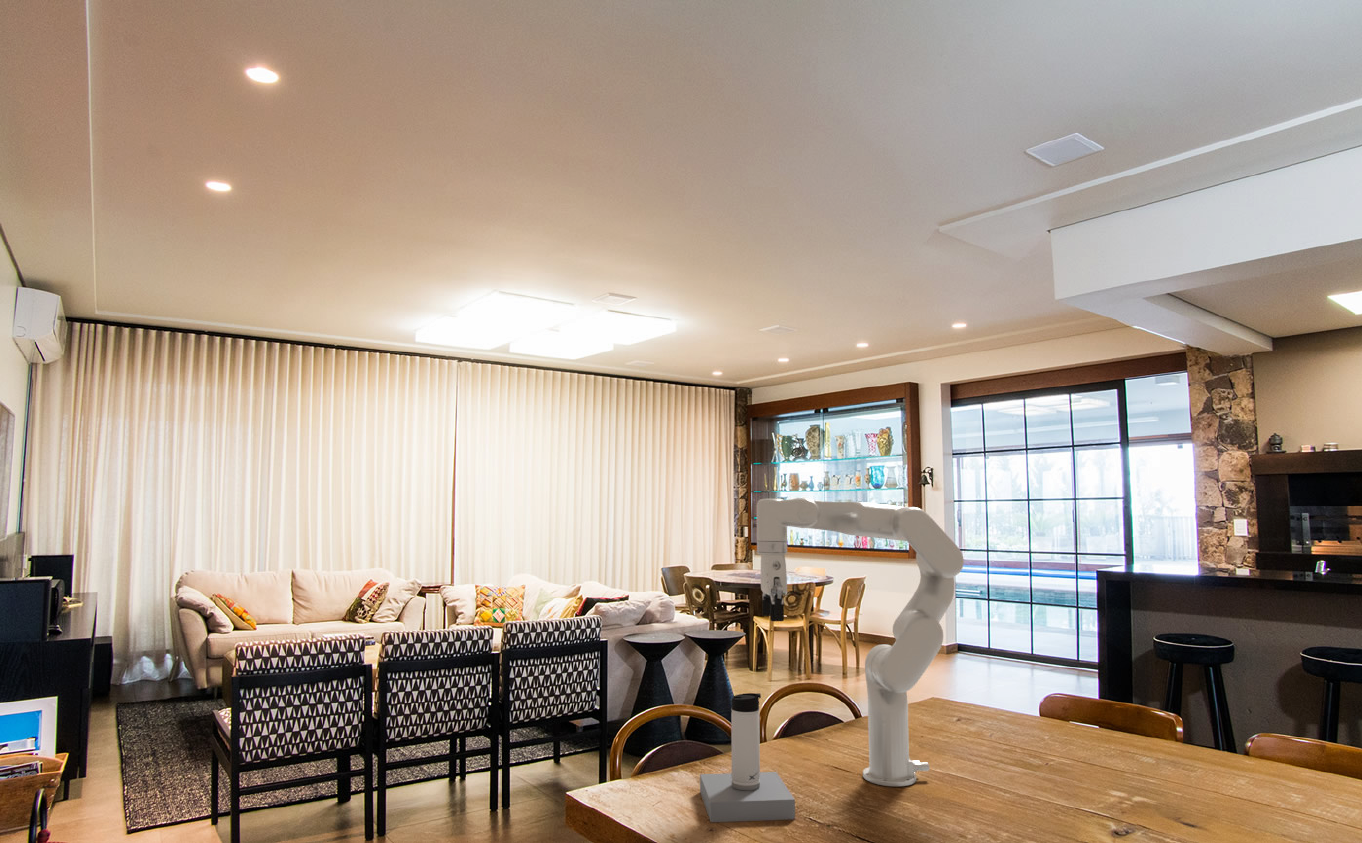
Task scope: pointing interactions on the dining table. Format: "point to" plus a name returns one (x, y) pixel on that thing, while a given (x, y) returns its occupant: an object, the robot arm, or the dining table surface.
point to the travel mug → (745, 741)
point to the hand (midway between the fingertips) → (772, 618)
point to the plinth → (746, 799)
